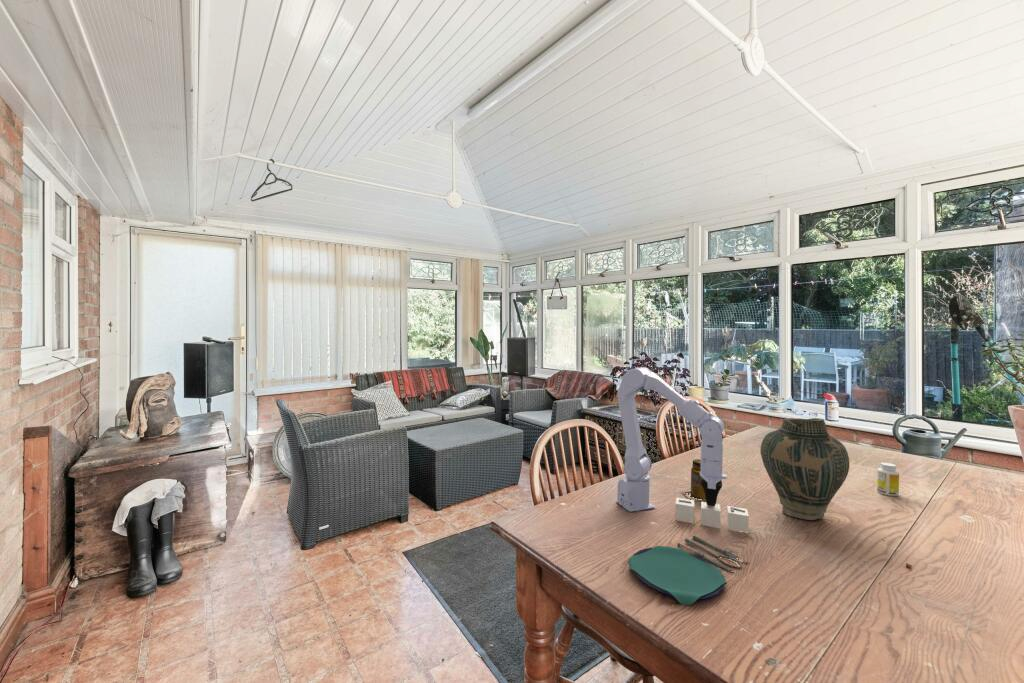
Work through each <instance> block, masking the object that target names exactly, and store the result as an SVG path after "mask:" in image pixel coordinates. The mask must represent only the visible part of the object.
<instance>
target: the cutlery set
mask: <svg viewBox="0 0 1024 683" xmlns="http://www.w3.org/2000/svg"><path fill="white" fill-rule="evenodd" d="M692 540H694V541H692ZM692 540H691V539H689V538H685V539H684V543H688V544H690V545H693V546H694V547H697V548H698V549H701V550H702V551H705V552H706V553H708V554H710V555H712V556H713V557H715V558H717V559H718V560H719V562H720V563H719V562H718V561H715V560H713V559H711V558H709V557H707V556H705V553H701V552H700V551H696V550H693V549H692V548H689V547H686V546H685V545H683V544H681V543H680V542H678V543H677V547H674V546H665V545H656V546H653V547H648V548H643V549H639V550H638V551H637V552H634V553H633V555H631V556H629V557H628V559H627V560H628V568H629V571H632V572H633V573H634V575H635V576H636V577H637V579H639V580H640V581H641V582H643V583H644V585H646V586H648V587H650V588H652V589H654V590H656V591H658V592H659V593H662V594H665V595H668V596H670V597H674V598H675V599H676V600H677V602H678V603H679V604H681V605H684V606H690V605H693V604H694V603H695V602H696V601H697V600H706V599H707V600H708V599H710V598H713V597H716V596H718V595H719V594H720V593H721V592H722V591H724V587H725V585H726V584H727V583H728V582H727V581H726V579H725V576H724V575H723V573H722V571H721V569H723V568H724V569H723V570H725V569H726V570H725V571H727V570H729V571H734V570H733V569H732V568H736V566H735V565H734V566H733V565H731V564H729V563H727V562H724V561H723V560H722V558H727V559H731V558H734V559H736V558H740V557H739V556H738V555H736V554H734V553H732V551H730V550H729V551H728V550H727V549H722V548H720V547H717V546H715V545H713V544H711V543H709V542H707V541H706V540H704V539H702V538H701V537H699V536H696V535H692ZM695 541H697V542H699V543H701V544H703V545H705V546H706V545H707V547H708V546H709V547H708V548H710V547H711V549H713V548H714V549H713V550H715V549H716V550H715V551H718V552H721V553H724V554H723V555H721V554H720V555H719V554H716V553H714V552H712V551H711V550H708V549H707V548H705V547H704V546H702V545H700V544H698V543H696V542H695ZM678 546H680V547H682V548H684V549H686V550H688V551H691V552H692V553H694V554H692V553H691V552H687V551H685V550H684V549H682V548H680V547H678ZM725 554H726V555H725ZM727 556H728V557H727ZM720 557H722V558H721V559H719V558H720ZM729 557H731V558H729ZM727 559H726V560H727ZM734 559H731V560H733V561H735V562H737V563H738V564H739V565H740V567H738V566H737V567H738V568H742V567H743V566H742V564H740V562H738V561H736V560H737V559H736V560H734ZM738 560H739V559H738ZM721 563H722V564H721ZM723 564H724V565H723ZM725 564H727V565H726V566H725ZM728 565H730V566H729V567H731V566H733V567H732V568H729V567H727V566H728ZM718 567H719V568H721V567H722V568H721V569H719V568H718ZM729 571H728V572H729Z"/></svg>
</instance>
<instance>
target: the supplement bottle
mask: <svg viewBox="0 0 1024 683" xmlns="http://www.w3.org/2000/svg"><path fill="white" fill-rule="evenodd" d="M876 474H877V475H876V476H877V480H876V481H877V483H876V490H877V492H878V493H879V494H882V495H884V496H889V497H890V496H891V497H898V496H899V494H900V491H899V490H900V472H899V471H898V470H897V465H896V464H893V463H890V462H880V467H879V468H877V473H876Z"/></svg>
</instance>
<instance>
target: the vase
mask: <svg viewBox="0 0 1024 683" xmlns="http://www.w3.org/2000/svg"><path fill="white" fill-rule="evenodd" d="M760 455H761V459H762V464H763V466H764V469H765V471H766V473H767V476H768V477H769V479H770V481H771V483H772V485H773V486H774V489H775V490H776V493H777V495H778V498H779V504H780V505H782V507H781V509H782V510H781V512H782V513H783V514H784V515H787V516H789V517H793V518H797V519H800V520H801V519H802V520H807V521H814V520H815V521H816V520H818V519H823V518H824V517H825V513H827V509H828V507H829V504H830V503H831V501H832V500H833V498H834V497H835V496H836V494H837V493H838V491H839V490H840V488H841V487H842V485H843V484H844V483H845V481H846V479H847V477H848V475H849V471H850V457H849V453H848V451H847V448H846V446H845V445H844V444H843V443H842V442H841V441H840V440H838V439H837V438H834V437H832V436H831V435H830V434H829V432H828V430H827V425H826V422H825V420H824V418H817V417H814V418H793V417H789V418H783V419H782V424H781V426H780V428H778V429H776V430H774V431H773V430H772V431H770V432H768V433H767V434H765V435H764V437H763V439H762V441H761V445H760Z"/></svg>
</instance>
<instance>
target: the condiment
mask: <svg viewBox="0 0 1024 683" xmlns="http://www.w3.org/2000/svg"><path fill="white" fill-rule="evenodd" d="M700 472H701V459H693V460H692V467H691V470H690V491H680V493H681V494H682V493H683V494H684V493H685V495H684V496H685V497H686V493H688V495H689V493H691V496H690V497H691V498H689V497H688V498H687V499H689V500H690V499H691V500H692V499H693V498H692V497H694V498H697V500H696V499H693V500H694V502H695V501H696V502H699V501H700V502H701V501H706V498H705V493H704V489H703V487H702V485H701V478H702V477H701V476H700ZM683 494H682V495H683ZM698 499H702V500H698Z"/></svg>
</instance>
